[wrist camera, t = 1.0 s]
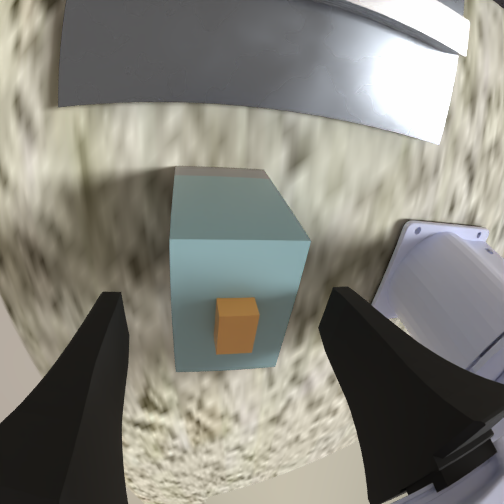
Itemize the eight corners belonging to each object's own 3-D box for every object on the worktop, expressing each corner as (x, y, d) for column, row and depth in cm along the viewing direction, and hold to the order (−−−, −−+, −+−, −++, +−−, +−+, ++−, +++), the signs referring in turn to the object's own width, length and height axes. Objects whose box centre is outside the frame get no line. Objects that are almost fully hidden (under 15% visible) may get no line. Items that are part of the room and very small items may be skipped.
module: (264, 170, 14) (320, 256, 8) (247, 274, 17) (279, 382, 12) (175, 166, 13) (168, 256, 8) (174, 275, 16) (176, 388, 11)
